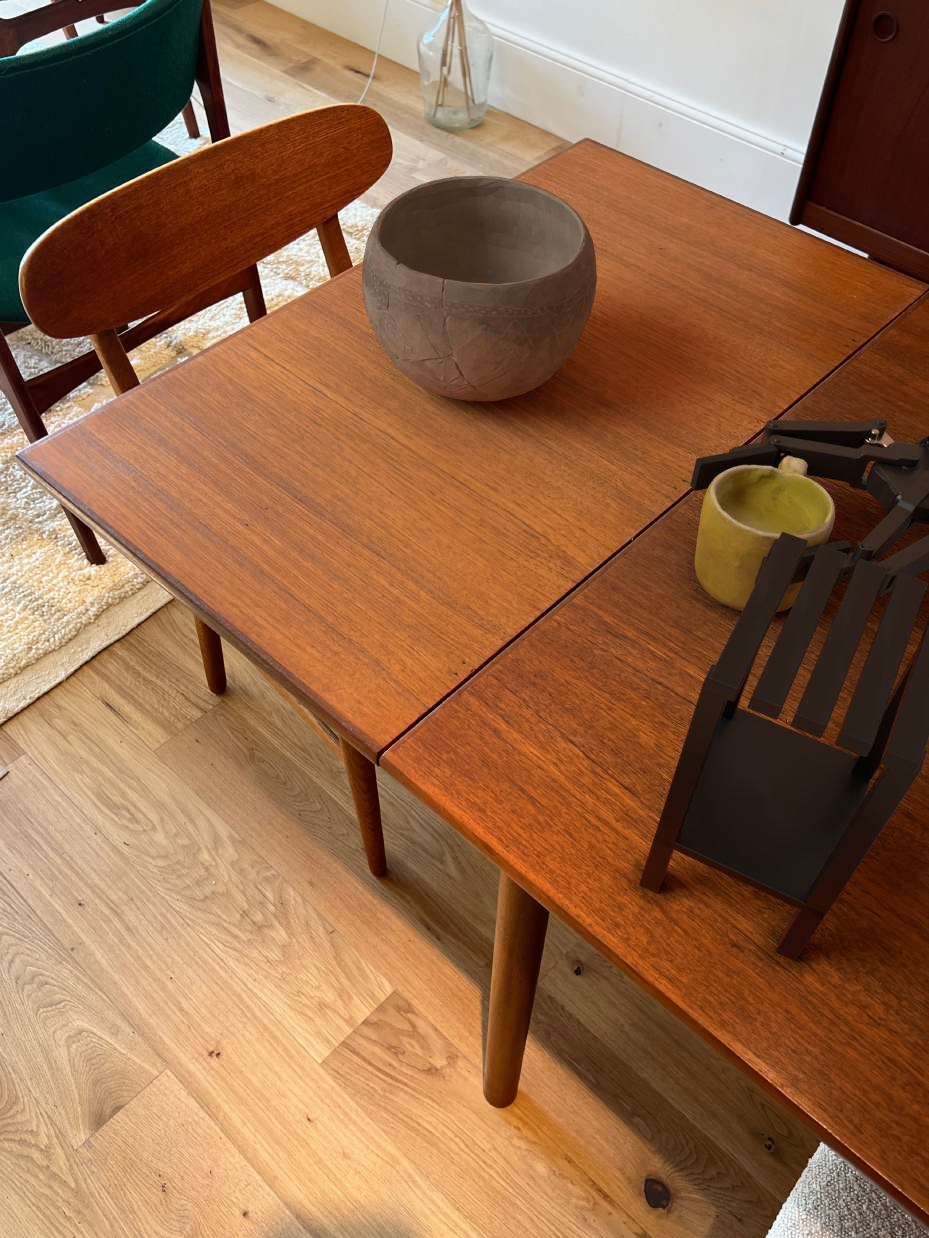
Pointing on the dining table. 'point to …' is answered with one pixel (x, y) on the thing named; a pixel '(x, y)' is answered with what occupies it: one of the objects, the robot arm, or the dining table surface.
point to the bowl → (478, 285)
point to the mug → (756, 526)
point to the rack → (800, 742)
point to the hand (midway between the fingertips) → (726, 522)
